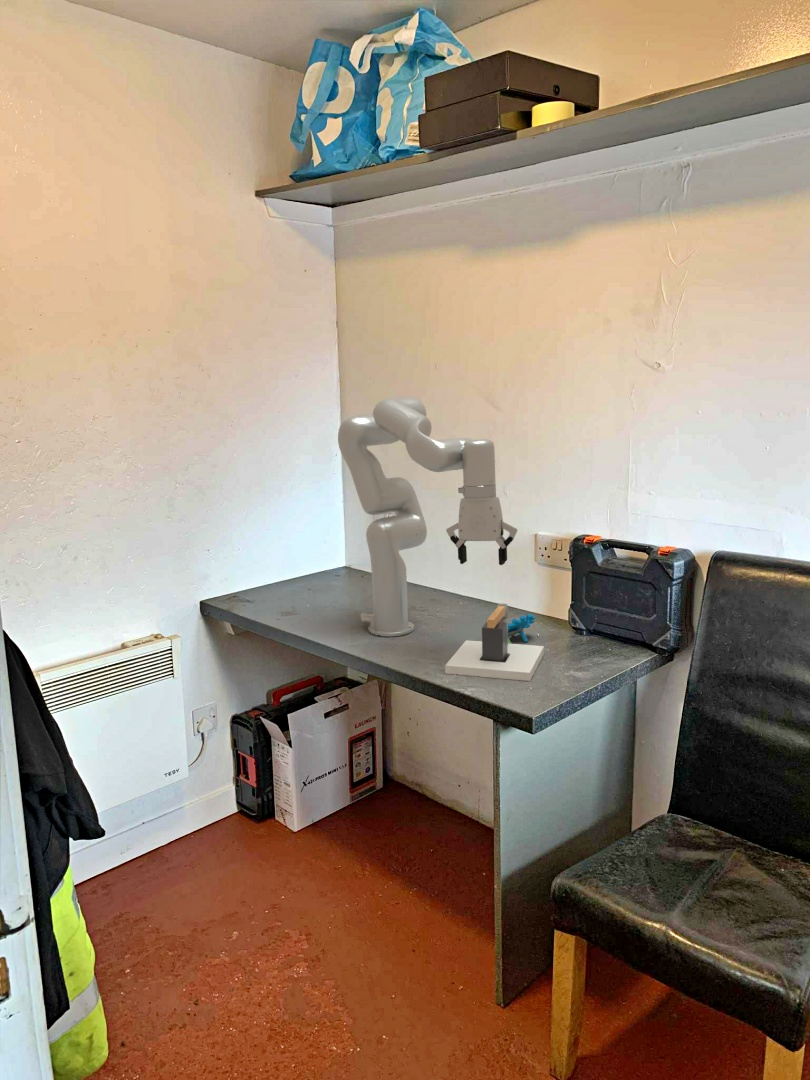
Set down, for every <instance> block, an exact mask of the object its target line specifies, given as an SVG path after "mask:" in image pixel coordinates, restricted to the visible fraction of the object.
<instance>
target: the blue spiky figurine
mask: <svg viewBox="0 0 810 1080" xmlns="http://www.w3.org/2000/svg"><path fill="white" fill-rule="evenodd" d="M519 618H520V619H517V618H516V617H515V618H513V619H512V620H511V622H510V623H508V644H512V642H511V640H510V638H509V637H513V636H515V635H518V634H519V635H520V636H521V638H522V640H523V642H524V643H527V642H529V639H528V638H527V635H526V634H525V633H524V629H528V628H529V627H531V624H534V623H535V619H536V617H535V615H534V614H533V615H532V613H529V614H527V615H526V616H525V614H522V615H521V616H519Z"/></svg>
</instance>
